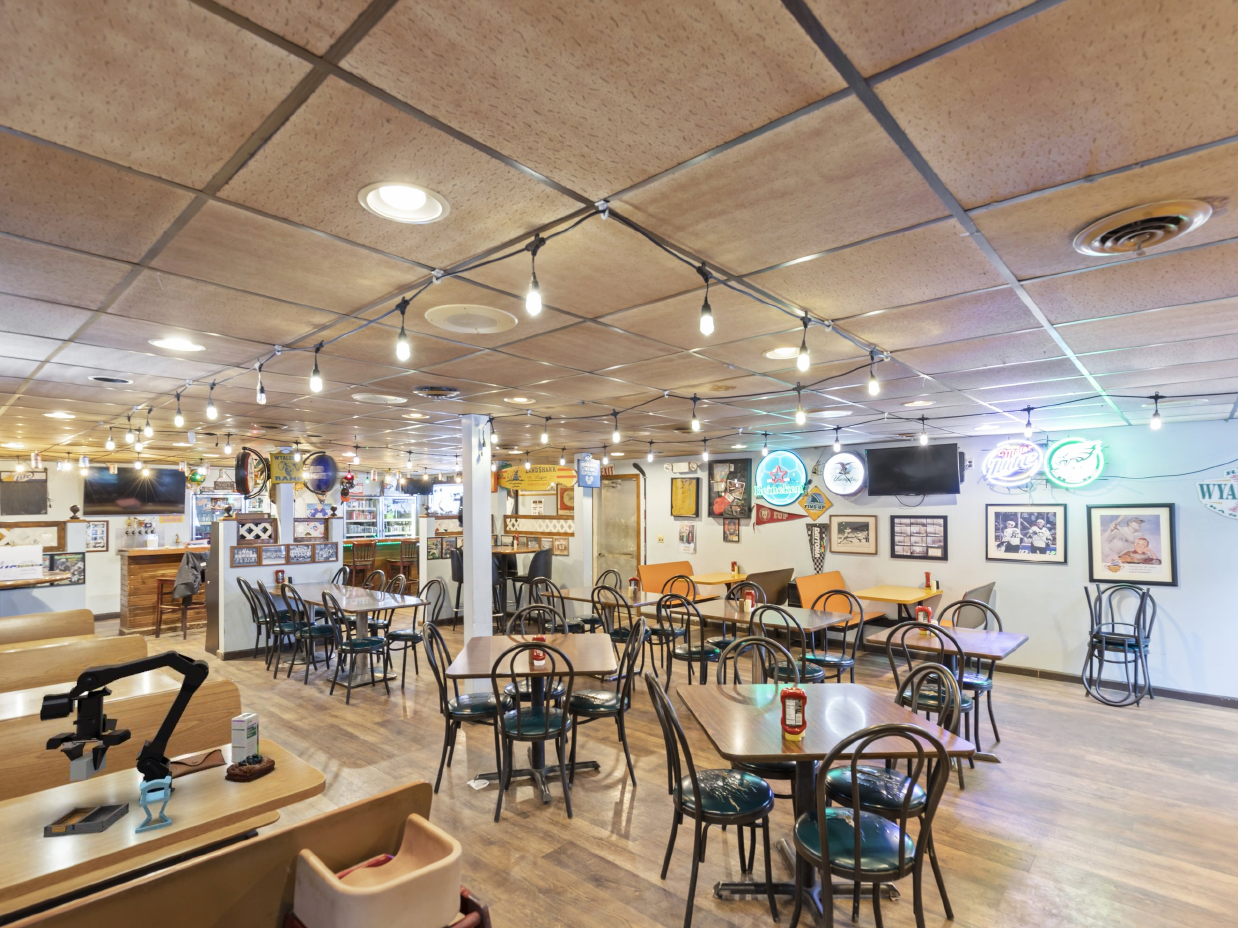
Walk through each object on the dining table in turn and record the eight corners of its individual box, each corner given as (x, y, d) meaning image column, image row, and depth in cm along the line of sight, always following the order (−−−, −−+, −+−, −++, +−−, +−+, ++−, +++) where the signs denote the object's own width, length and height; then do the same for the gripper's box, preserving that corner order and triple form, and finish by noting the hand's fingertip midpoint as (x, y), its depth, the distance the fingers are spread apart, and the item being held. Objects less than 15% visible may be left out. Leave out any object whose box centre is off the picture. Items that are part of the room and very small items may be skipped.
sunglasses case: (163, 782, 193) (161, 760, 196) (158, 788, 197) (156, 766, 200) (229, 763, 207) (226, 743, 209) (223, 769, 210) (220, 749, 213)
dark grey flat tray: (128, 811, 174) (128, 802, 175) (101, 832, 163) (101, 822, 163) (74, 816, 173) (74, 807, 173) (42, 837, 161) (43, 827, 162)
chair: (172, 812, 173) (173, 768, 174) (171, 824, 166) (172, 778, 167) (137, 821, 169) (139, 775, 170) (135, 833, 162) (136, 785, 163)
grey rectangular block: (105, 767, 180) (106, 749, 181) (85, 779, 172) (86, 760, 173) (90, 768, 180) (91, 750, 180) (69, 780, 172) (70, 761, 172)
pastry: (219, 781, 194) (220, 761, 194) (252, 765, 205) (252, 747, 205) (248, 784, 191) (248, 764, 191) (279, 768, 202) (279, 749, 203)
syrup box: (245, 763, 206) (246, 718, 207) (230, 762, 208) (231, 717, 209) (259, 756, 212) (259, 712, 213) (244, 755, 213) (244, 711, 214)
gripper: (143, 702, 186) (142, 756, 185) (75, 706, 184) (73, 761, 183) (118, 715, 175) (116, 772, 174) (45, 719, 173) (43, 777, 172)
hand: (88, 770), depth 176 cm, fingers closed on grey rectangular block, 4 cm apart
